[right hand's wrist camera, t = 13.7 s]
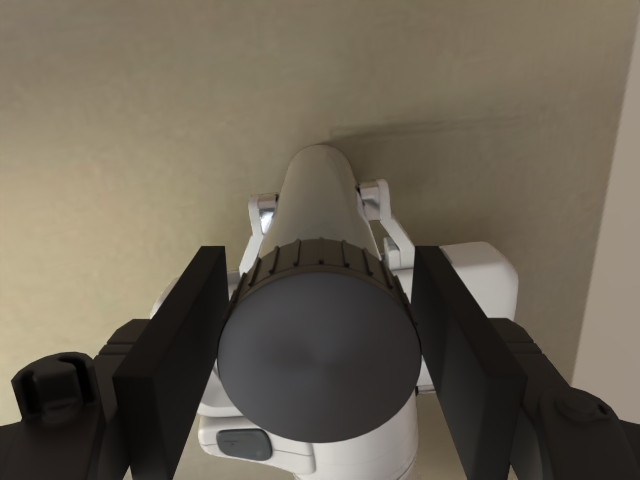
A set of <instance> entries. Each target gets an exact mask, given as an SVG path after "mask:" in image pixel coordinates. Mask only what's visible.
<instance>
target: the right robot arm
mask: <svg viewBox="0 0 640 480" xmlns="http://www.w3.org/2000/svg"><path fill="white" fill-rule="evenodd" d="M228 303H229V291H228V279H227V267H226V254H225V246H201V248H200V249H199V250H198V252H197V253H196V255H195V256H194V258H193V259H192V261H191V262H190V264H189V265H188V266H187V268H186V269H185V271H184V272H183V274H182V275H181V277H180V278H179V280H178V281H177V282H176V284H175V285H174V287H173V288H172V290H171V291H170V293H169V294H168V295H167V297H166V298H165V300H164V301H163V303H162V304H161V306H160V307H159V309H158V310H157V311H156V313H155V314H154V316H153V317H152V319H132V320H131V321H129V322H128V323H126V324H125V325H123V326H122V327H120V328H119V329H117V330H116V331H115V333H114V334H113V335H112V336H111V338H110V339H109V340H108V341H107V345H104V346H103V348H102V349H101V350H100V351H99V355H96V357H95V358H94V359H92V358H91V357H89V356H88V355H87V354H84V353H79V352H63V353H58V354H54V355H50V356H46V357H43V358H41V359H39V360H37V361H34V362H32V363H30V364H29V365H27V366H26V367H24V368H23V369H21V370H20V371H19V372H18V373H17V374H16V375H15V376H14V378H13V379H12V380H11V383H12V387H13V390H14V393H15V396H16V400H17V403H18V406H19V409H20V413H21V416H22V419H21V421H20V422H17V423H13V424H9V425H4V426H0V480H123V478H124V476H125V474H126V472H127V470H128V468H129V466H130V469H131V474H132V479H133V480H172V479H173V477H174V474H175V471H176V468H177V466H178V463H179V460H180V457H181V455H182V452H183V449H184V446H185V444H186V441H187V438H188V435H189V433H190V430H191V427H192V424H193V422H194V419H195V416H196V413H197V411H198V408H199V405H200V402H201V400H202V397H203V394H204V391H205V389H206V386H207V383H208V380H209V378H210V375H211V372H212V369H213V367H214V364H215V361H216V359H217V346H218V343H217V340H218V337H219V334H220V331H221V329H222V326H223V324H224V322H221V321H222V318H223V316H224V313H225V311H226V308H227V306H228ZM410 304H411V307H412V309H413V312H414V315H415V317H416V320H417V322H418V325H417V326H416V329H417V332H418V335H419V338H420V341H421V349H422V356H423V359H424V361H425V364H426V367H427V370H428V372H429V375H430V378H431V380H432V383H433V386H434V389H435V391H436V394H437V397H438V400H439V402H440V405H441V408H442V411H443V413H444V416H445V419H446V422H447V424H448V427H449V430H450V433H451V435H452V438H453V441H454V444H455V446H456V449H457V452H458V455H459V457H460V460H461V463H462V466H463V468H464V471H465V474H466V477H467V479H468V480H507V479H508V474H509V469H510V464H511V465H512V467H513V469H514V472H515V474H516V476H517V478H518V480H640V424H635V423H631V422H626V421H623V420H619V419H618V417H617V415H616V414H615V412H614V411H613V410H612V408H611V407H610V406H609V405H607V404H606V403H605V402H603V401H602V400H601V399H600V398H598V397H596V396H594V395H592V394H590V393H588V392H586V391H583V390H579V389H576V388H573V387H570V386H569V385H568V383H567V382H566V381H565V380H564V378H563V377H562V376H561V375H560V373H559V372H558V371H557V370H556V368H555V367H554V366H553V365H552V363H551V362H550V361H549V360H548V358H547V357H546V356H545V355H544V354H542V351H541V350H540V348H539V347H538V346H537V345H536V343H533V340H532V338H531V337H530V336H529V335H528V333H527V332H526V331H525V330H524V328H522V327H521V326H519V325H518V324H516V323H514V322H513V321H511V320H510V319H508V318H488V317H487V316H486V314H485V313H484V311H483V310H482V309H481V307H480V306H479V304H478V303H477V301H476V300H475V298H474V297H473V295H472V294H471V293H470V291H469V290H468V288H467V287H466V285H465V284H464V282H463V281H462V280H461V278H460V277H459V275H458V274H457V272H456V271H455V269H454V268H453V266H452V265H451V264H450V262H449V261H448V259H447V258H446V256H445V255H444V253H443V252H442V250H441V249H440V248H439V246H415V254H414V266H413V278H412V290H411V303H410Z"/></svg>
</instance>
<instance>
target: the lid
mask: <svg viewBox="0 0 640 480" xmlns="http://www.w3.org/2000/svg"><path fill="white" fill-rule="evenodd" d="M221 322H224V324H223V326H222V329H221V331H220V334H219V337H218V340H217V343H218V346H217V368H218V373H219V377H220V380H221V383H222V386H223V388H224V390H225V392H226V394H227V396H228V398H229V399H230V400H231V402H232V403H233V405H234V406H235V407H236V408H237V409H238V410H239V411H240V412H241V413H242V415H244V416H245V417H246V418H247V419H248V420H250V421H251V422H252V423H254V424H255V425H257V426H258V427H260V428H261V429H263V430H265V431H267V432H269V433H271V434H274V435H277V436H279V437H282V438H285V439H289V440H293V441H298V442H305V443H334V442H340V441H346V440H350V439H353V438H357V437H359V436H362V435H365V434H367V433H369V432H371V431H373V430H375V429H377V428H379V427H380V426H382V425H383V424H385V423H386V422H388V421H389V420H390V419H391V418H393V417H394V416H395V415H396V414H397V413H398V412H399V411H400V410H401V409H402V408H403V407H404V405H405V404H406V403H407V401H408V400H409V398H410V397H411V395H412V393H413V391H414V389H415V387H416V385H417V382H418V379H419V376H420V371H421V365H422V349H421V341H420V338H419V335H418V332H417V329H416V326H417V325H418V322H417V320H416V317H415V315H414V312H413V309H412V307H411V304H410V302H409V299H408V297H407V294H406V293H404V290H403V288H402V285H401V283H400V280H399V277H398V276H397V275H395V276H394V275H393V274H392V272H391V271H390V270H389V269H388V268H387V265H386V263H385V261H384V260H383V259H382V260H381V261H380V260H379V259H378V258H377V257H375V256H374V255H372V254H371V253H369V252H368V249H367V248H365V247H364V248H363V249H362V248H360V247H357V246H355V245H352V244H349V243H347V242H346V240H343V239H342V241H337V240H331V239H323V237H319V239H307V240H302V241H301V240H300V239H296V242H293V243H290V244H286V245H283V246H281V247H279V246H276V247H275V248H274V250H273V251H271V252H270V253H268V254H266V255H265V256H263V257H262V258H260V257H258V258H257V259H256V261H255V264H254V265H253V266H252V267H251V268H250V270H249V271H248V272H247V273H245V272H244V273H243V274H242V276H241V279H240V281H239V284H238V286H237V289H236V290H234V291H233V293H232V296H231V298H230V301H229V303H228V306H227V308H226V311H225V313H224V316H223V318H222V321H221Z"/></svg>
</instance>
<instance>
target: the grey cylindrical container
mask: <svg viewBox="0 0 640 480" xmlns="http://www.w3.org/2000/svg"><path fill="white" fill-rule="evenodd" d="M319 237H323V239H331V240H337V241H342V239H343V240H346V242H347V243H349V244H352V245H355V246H357V247H360V248H362V249H363V248H364V247H365V248H367V249H368V252H369V253H371V254H372V255H374V256H375V257H377V258H378V259H379V260H380V261H381V256H380V253H379V250H378V247H377V244H376V241H375V238H374V235H373V232H372V229H371V226H370V223H369V220H368V217H367V214H366V211H365V208H364V205H363V202H362V199H361V196H360V193H359V190H358V187H357V184H356V181H355V178H354V175H353V172H352V169H351V166H350V164H349V161H348V160H347V158H346V157H345V156H344V155H343V154H342V153H341V152H340V151H339V150H337V149H336V148H333V147H331V146H328V145H321V144H318V145H312V146H308V147H306V148H304V149H302V150H301V151H299V152H298V153H297V154H296V155H295V156H294V157H293V159H292V161H291V162H290V165H289V167H288V170H287V173H286V176H285V179H284V182H283V185H282V188H281V191H280V194H279V197H278V200H277V203H276V206H275V209H274V212H273V215H272V218H271V221H270V224H269V226H268V229H267V232H266V235H265V238H264V241H263V244H262V247H261V250H260V253H259V256H258V257H260V258H262V257H263V256H265V255H266V254H268V253H270V252H271V251H273V250H274V248H275V247H276V246H279V247H281V246H283V245H286V244H290V243H293V242H296V239H300V240H301V241H302V240H307V239H319Z"/></svg>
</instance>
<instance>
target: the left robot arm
mask: <svg viewBox="0 0 640 480" xmlns="http://www.w3.org/2000/svg"><path fill="white" fill-rule="evenodd" d="M358 190H359V193H360V196H361V199H362V202H363V205H364V208H365V211H366V214H367V217H368V220H369V221H371V220H379V221H380V223H381V224H382V225H383V227H384V228H385V230H386V231H387V232H388V234H389V235H390V236H387V237H385V238H384V253H380V256H381V260H382V259H383V260H384V261H385V263H386V265H387V268H388V269H389V270H390V271H391V272H392V274H393V275H394V276H395V275H397V276H398V277H399V280H400V283H401V285H402V288H403V290H404V293H406V294H407V297H408V299H409V302H410V303H411V290H412V278H413V266H414V254H415V247H414V245H413V243H412V241H411V240H410V238H409V236H408V234H407V232H406V231H405V230H404V228H403V227H402V226H401V224H400V223H399V222H398V220H397V219H396V218H395V216H394V215H393V214H392V212H391V208H390V195H389V188H388V183H387V181H386V180H385V179H377V180H369V181H362V182H358ZM278 197H279V194H278V193H269V194H258V195H252V196H251V197H250V199H249V200H248V210H249V215H250V220H251V225H252V230H253V232H252V235H251V237H250V240H249V243H248V245H247V248H246V251H245V253H244V256H243V258H242V261H241V264H240V266H239V270H235V271H227V279H228V291H229V301H230V298H231V296H232V293H233V291H234V290H236V289H237V286H238V284H239V281H240V279H241V276H242V274H243V273H244V272H245V273H247V272H248V271H249V270H250V268H251V267H252V266H253V265H254V264H255V261H256V259H257V258H258V256H259V250H260V247H261V245H262V242H263V240H264V237H265V234H266V232H267V229H268V226H269V224H270V221H271V218H272V215H273V212H274V209H275V206H276V203H277V200H278ZM439 248H440V249H441V250H442V252H443V253H444V255H445V256H446V258H447V259H448V261H449V262H450V264H451V265H452V266H453V268H454V269H455V271H456V272H457V274H458V275H459V277H460V278H461V280H462V281H463V282H464V284H465V285H466V287H467V288H468V290H469V291H470V293H471V294H472V295H473V297H474V298H475V300H476V301H477V303H478V304H479V306H480V307H481V309H482V310H483V311H484V313H485V314H486V316H487V317H488V318H508V319H510V320H511V321H513V322H514V317H515V312H516V305H517V296H518V286H519V279H518V274H517V272H516V270H515V268H514V267H513V265H512V264H511V263H510V262H509V261H508V259H507V258H506V257H505V256H504V255H503V254H501V253H500V252H499V251H498V250H497V249H495V248H494V247H493V246H492V245H490V244H489V243H487V242H484V241H478V242H470V243H461V244H453V245H445V246H439ZM179 278H180V277H178V278H175V279H173V280H172V281H171V282H170V283H169V284H168V286H167V287H166V288H165V289H164V291H163V292H162V293H161V294H160V296H159V297H158V299H157V301H156V302H155V304H154V306H153V308H152V310H151V313H150V318H149V319H152V317H153V316H154V314H155V313H156V311H157V310H158V309H159V307H160V306H161V304H162V303H163V301H164V300H165V298H166V297H167V295H168V294H169V293H170V291H171V290H172V288H173V287H174V285H175V284H176V282H177V281H178V280H179ZM430 393H436V391H435V389H434V386H433V383H432V380H431V378H430V375H429V372H428V370H427V367H426V364H425V361H424V359H423V356H422V365H421V371H420V376H419V379H418V382H417V385H416V387H415V389H414V391H413V393H412V395H411V397H410V398H409V400H408V401H407V403H406V404H405V405H404V407H403V408H402V409H401V410H400V411H399V412H398V413H397V414H396V415H395V416H394V417H393V418H391V419H390V420H389V421H388V422H386V423H385V424H383V425H382V426H380V427H379V428H377V429H375V430H373V431H371V432H369V433H367V434H365V435H362V436H359V437H357V438H353V439H350V440H346V441H340V442H334V443H305V442H298V441H293V440H289V439H285V438H282V437H279V436H277V435H274V434H271V433H269V432H267V431H265V430H263V429H261V428H260V427H258V426H257V425H255V424H254V423H252V422H251V421H250V420H248V419H247V418H246V417H245V416H244V415H242V413H241V412H240V411H239V410H238V409H237V408H236V407H235V406H234V405H233V403H232V402H231V400H230V399H229V398H228V396H227V394H226V392H225V390H224V388H223V386H222V383H221V380H220V377H219V373H218V368H217V359H216V361H215V364H214V367H213V369H212V372H211V375H210V378H209V380H208V383H207V386H206V389H205V391H204V394H203V397H202V400H201V402H200V405H199V408H198V411H197V413H198V414H200V415H201V419H200V425H199V431H198V438H199V442H200V445H201V447H202V449H203V450H204V451H205V452H207V453H208V454H211V455H214V456H219V457H226V458H233V459H240V460H246V461H251V462H257V463H261V464H266V465H270V466H273V467H277V468H280V469H283V470H287V471H290V472H292V473H293V475H294V477H295V480H420V476H419V473H418V470H417V467H416V465H415V462H416V458H417V454H418V442H419V439H418V423H417V408H416V397H415V396H417V395H420V394H430Z"/></svg>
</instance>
